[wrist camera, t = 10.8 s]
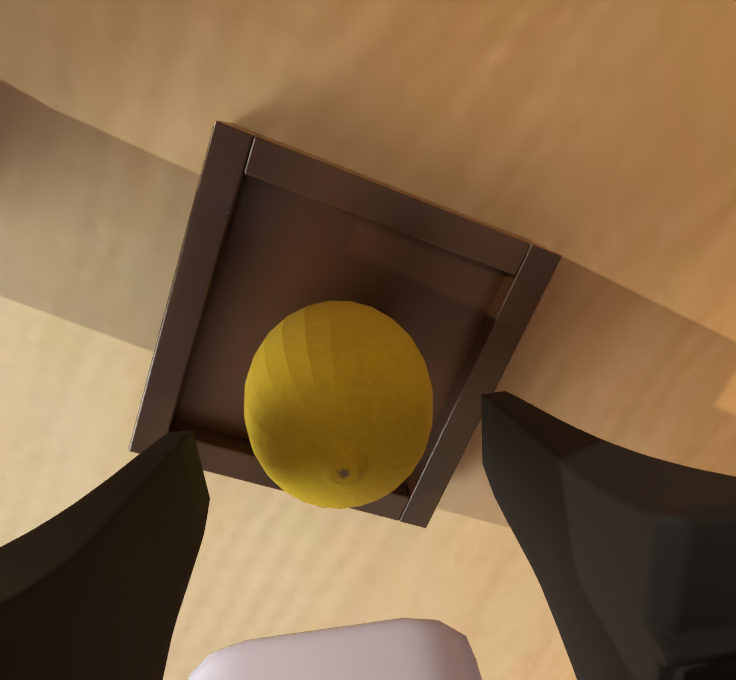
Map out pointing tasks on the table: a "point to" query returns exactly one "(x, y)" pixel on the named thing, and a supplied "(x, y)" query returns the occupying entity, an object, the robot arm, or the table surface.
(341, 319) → the lemon
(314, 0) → the table surface
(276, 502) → the table surface
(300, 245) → the tray
